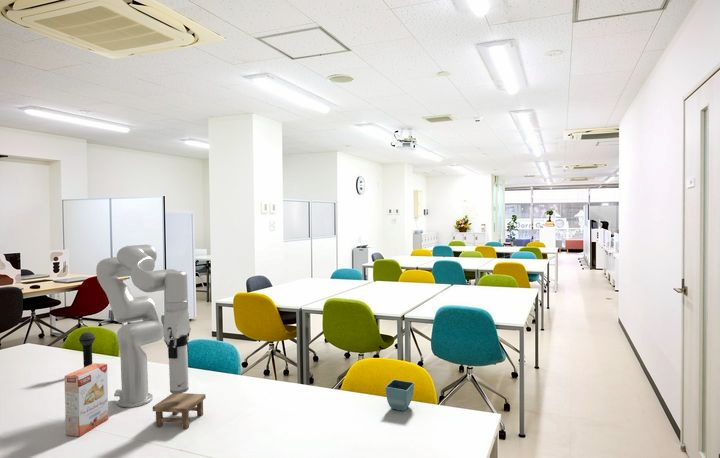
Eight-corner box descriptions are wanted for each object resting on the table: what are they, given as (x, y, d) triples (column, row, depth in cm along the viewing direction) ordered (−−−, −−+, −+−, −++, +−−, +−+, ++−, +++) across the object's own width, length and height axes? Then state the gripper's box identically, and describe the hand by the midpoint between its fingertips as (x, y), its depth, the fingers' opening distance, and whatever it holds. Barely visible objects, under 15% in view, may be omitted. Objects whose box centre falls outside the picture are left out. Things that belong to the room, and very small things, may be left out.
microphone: (77, 375, 217) (75, 333, 217) (88, 370, 224) (87, 330, 223) (87, 376, 216) (86, 334, 215) (99, 372, 222) (98, 330, 221)
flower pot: (415, 405, 177) (414, 382, 177) (407, 414, 169) (407, 390, 169) (393, 401, 181) (393, 379, 181) (385, 410, 173) (384, 387, 173)
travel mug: (183, 394, 163) (181, 338, 162) (166, 393, 164) (164, 337, 164) (192, 387, 169) (191, 333, 169) (176, 386, 171) (174, 333, 170)
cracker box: (80, 437, 156) (78, 376, 155) (65, 436, 157) (62, 375, 156) (110, 419, 170) (108, 362, 169) (95, 418, 171) (93, 362, 170)
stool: (153, 428, 162) (152, 406, 162) (174, 412, 175) (173, 392, 174) (187, 430, 160) (186, 408, 160) (206, 414, 173) (205, 394, 172)
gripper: (180, 301, 175) (182, 348, 176) (152, 310, 158) (154, 362, 159) (198, 301, 174) (200, 348, 174) (172, 311, 157) (174, 363, 157)
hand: (178, 354), depth 166 cm, fingers closed on travel mug, 6 cm apart
